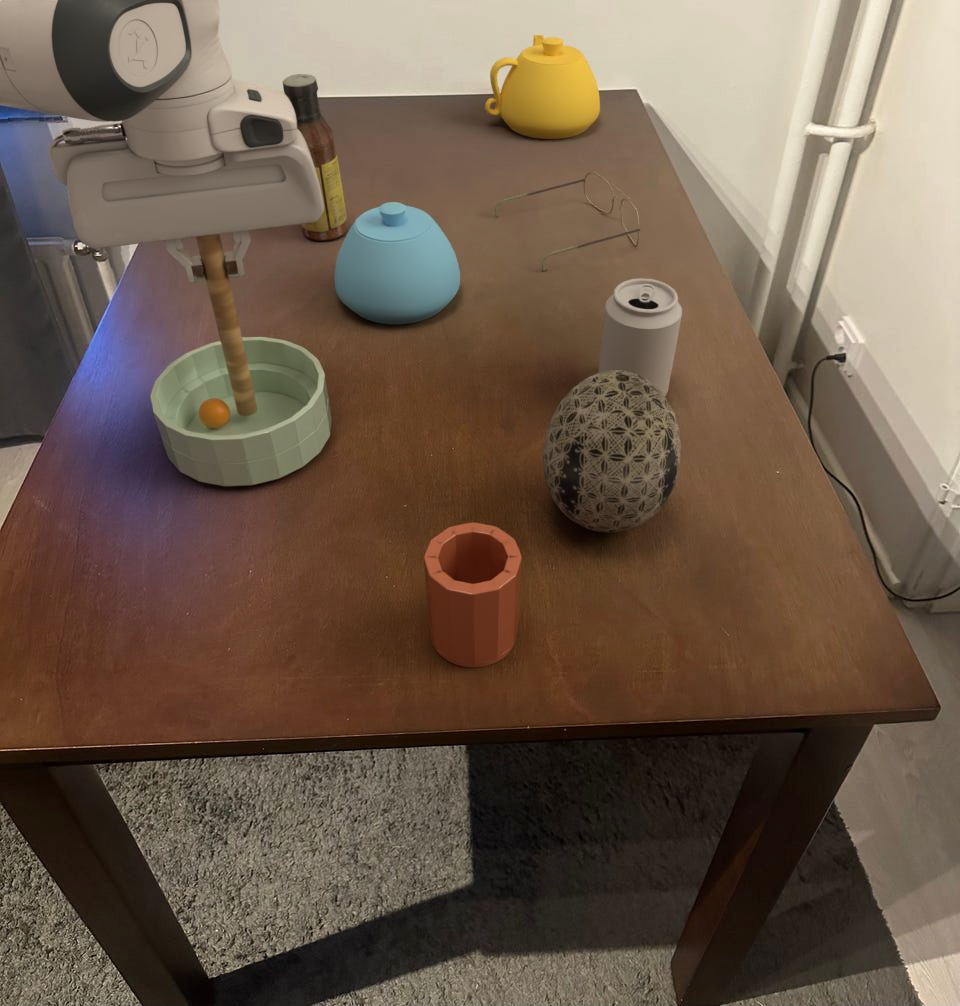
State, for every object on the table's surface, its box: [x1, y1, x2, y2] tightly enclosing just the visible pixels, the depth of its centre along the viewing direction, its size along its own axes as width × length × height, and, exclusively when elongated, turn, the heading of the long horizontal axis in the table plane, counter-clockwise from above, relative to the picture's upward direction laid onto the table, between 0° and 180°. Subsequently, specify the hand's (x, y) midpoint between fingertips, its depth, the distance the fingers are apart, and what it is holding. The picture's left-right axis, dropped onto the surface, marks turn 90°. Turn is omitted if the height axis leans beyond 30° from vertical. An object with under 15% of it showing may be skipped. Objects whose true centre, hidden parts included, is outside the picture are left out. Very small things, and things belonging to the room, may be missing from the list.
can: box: [597, 277, 683, 397], centre depth 90 cm, size 8×8×12 cm
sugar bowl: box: [333, 201, 461, 325], centre depth 104 cm, size 15×15×12 cm
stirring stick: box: [195, 234, 257, 416], centre depth 83 cm, size 2×2×20 cm
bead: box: [199, 398, 230, 429], centre depth 88 cm, size 3×3×3 cm
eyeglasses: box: [494, 171, 641, 272], centre depth 118 cm, size 16×15×5 cm
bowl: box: [149, 336, 333, 487], centre depth 87 cm, size 16×16×6 cm
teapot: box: [484, 34, 601, 140], centre depth 144 cm, size 20×19×13 cm
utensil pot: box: [423, 522, 523, 668], centre depth 69 cm, size 7×7×9 cm
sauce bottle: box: [282, 73, 348, 242], centre depth 113 cm, size 7×6×20 cm
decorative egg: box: [542, 370, 682, 534], centre depth 76 cm, size 12×12×15 cm
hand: (217, 276), depth 79 cm, fingers closed on stirring stick, 2 cm apart
